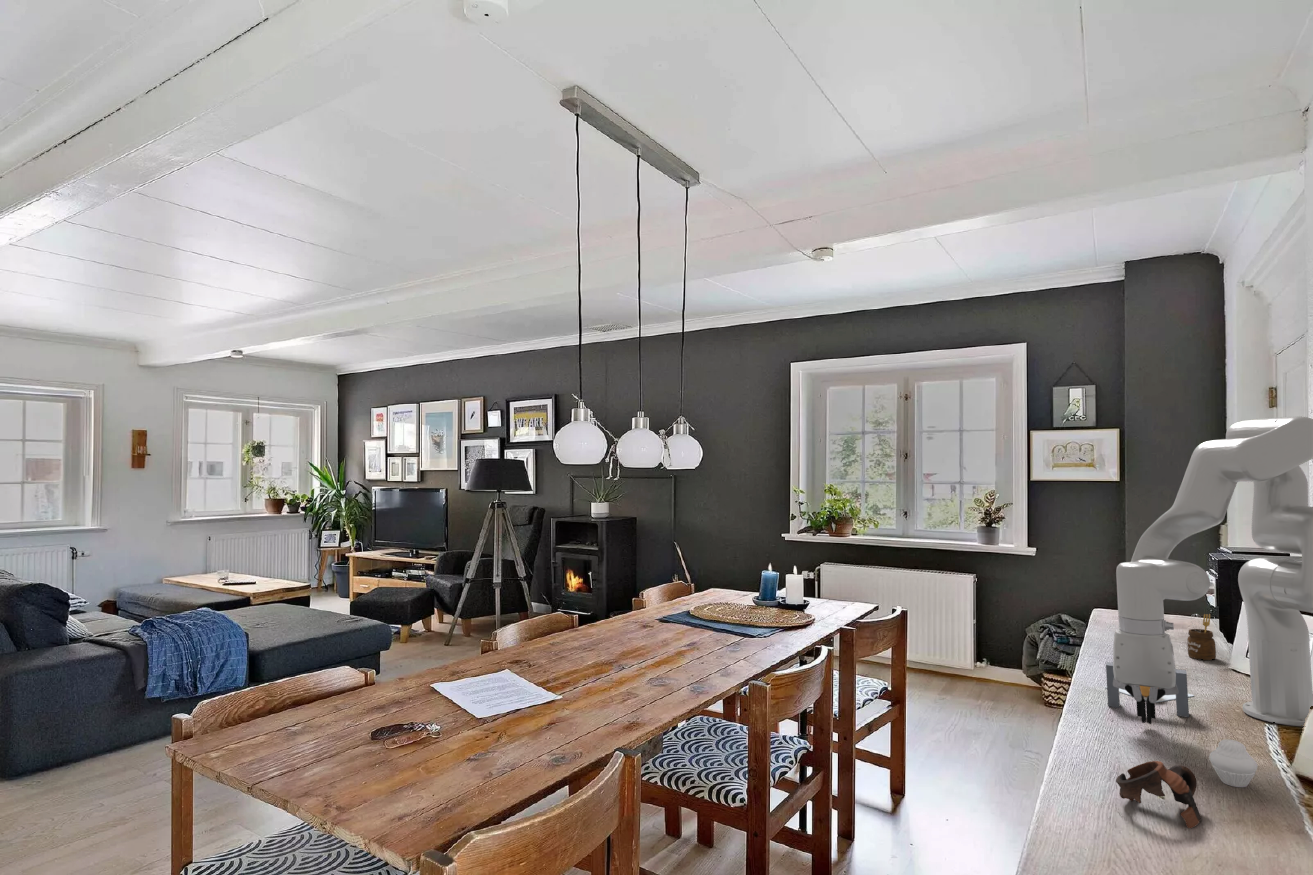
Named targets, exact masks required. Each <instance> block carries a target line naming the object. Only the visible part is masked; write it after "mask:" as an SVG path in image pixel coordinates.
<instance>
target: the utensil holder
mask: <svg viewBox="0 0 1313 875" xmlns="http://www.w3.org/2000/svg"><path fill="white" fill-rule="evenodd" d="M1195 615H1196V616H1195ZM1195 617H1196V618H1197V620H1200V622H1198V627H1200V628H1197V626H1196V625H1197V624H1196V622H1194V624H1193V621H1192V618H1193V620H1195ZM1199 618H1200V619H1199ZM1202 619H1203V620H1202ZM1190 621H1191V622H1190V623H1191V625H1192V627H1193V628H1190V629H1188V635H1189V636H1187V645H1186V646H1187V654H1188V657H1189V658H1191V659H1195V660H1198V659H1203V660H1202V661H1213V660H1212V659H1215V660H1216V658H1217V649H1216V641H1215V639H1214V632H1213V631H1211V630H1208V629H1207V628H1208V626H1210V623H1211V613H1209V614H1205V613H1204V614H1203V618H1202V617H1199V614H1198V613H1195V614H1193V615H1192V616H1190ZM1200 623H1201V624H1200ZM1194 626H1195V627H1194ZM1203 626H1204V629H1203Z"/></svg>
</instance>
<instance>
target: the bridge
mask: <svg viewBox="0 0 1313 875" xmlns="http://www.w3.org/2000/svg"><path fill="white" fill-rule="evenodd" d="M1175 670H1176V685H1177V688H1178V694H1176V699H1175V706H1176V716H1177V717H1184V718H1190V711H1189V709H1190V708H1189V697H1188V694H1189V692H1188V691H1189V689H1188V674H1187V670H1184V669H1177V668H1175ZM1105 672H1106V673H1105V674H1106V686H1107V688H1106V691H1107V692H1106V693H1107V706H1108V707H1109V706H1112V707H1111V708H1116V709H1117V708H1120V706H1119V705H1121V704H1120V702H1121V701H1120V692H1119V688H1117V687H1114V686H1113V679H1114V672H1113V661H1111V662H1110V661H1106V664H1105Z"/></svg>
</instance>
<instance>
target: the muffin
mask: <svg viewBox="0 0 1313 875" xmlns="http://www.w3.org/2000/svg"><path fill="white" fill-rule="evenodd" d="M1208 759H1209V761H1210V763H1211V766H1212V768H1213V769H1214V771H1215V773H1216V774H1217V776H1218V777H1219V779H1220V780H1221V782H1222V783H1223V784H1224V785H1227V786H1231V787H1235V788H1246V787H1247V786H1248V785H1249V784H1250V783H1251V781H1252V780H1253V778H1254V776H1255V775H1256V772H1257V770H1258V762H1257V761H1256V759H1254V758H1253V757H1252V756H1251V755H1250V753H1249V752H1248V751H1247V749H1246V745H1245V744H1243V743H1242V742H1240V741H1238V740H1235V739H1234V740H1233V739H1229V738H1228V739H1226V738H1225V739H1221V740H1220V741H1219V742H1218V745H1217V747H1216V748H1215V749H1214V750H1212V751H1211V752H1210V753H1209V757H1208Z"/></svg>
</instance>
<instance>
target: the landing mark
mask: <svg viewBox="0 0 1313 875" xmlns="http://www.w3.org/2000/svg"><path fill="white" fill-rule="evenodd" d="M1104 687H1105V689H1107V685H1105V686H1104ZM1120 693H1121V694H1123V695H1127V696H1129V697H1132V696H1131V695H1130V694H1129V693H1128V692H1127V691H1126V690H1123V689H1120V688H1119V694H1120ZM1193 697H1195V695H1194V694H1190V693H1188V698H1193ZM1144 699H1145V701H1146V700H1147V697H1145V696H1144ZM1173 700H1175V701H1176V695H1164V696H1163V697H1161V698H1160V699H1159V700H1157V701H1156V703H1161V702H1162V703H1163V702H1168V701H1173Z"/></svg>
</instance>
